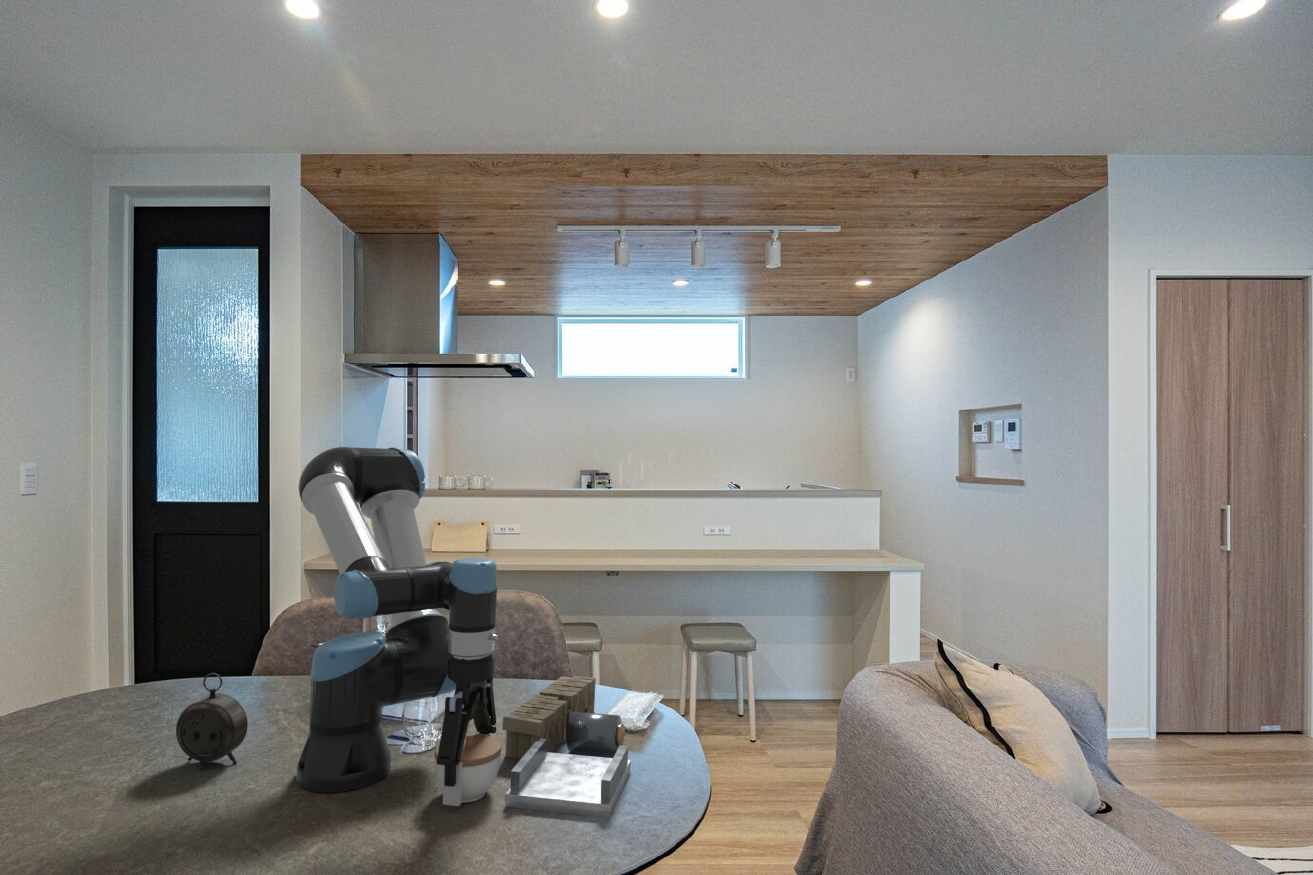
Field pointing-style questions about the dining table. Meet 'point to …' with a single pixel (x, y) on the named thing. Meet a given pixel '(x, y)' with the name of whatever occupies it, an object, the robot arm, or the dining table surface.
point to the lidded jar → (475, 766)
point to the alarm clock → (211, 727)
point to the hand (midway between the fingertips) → (467, 787)
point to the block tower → (548, 714)
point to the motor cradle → (574, 770)
